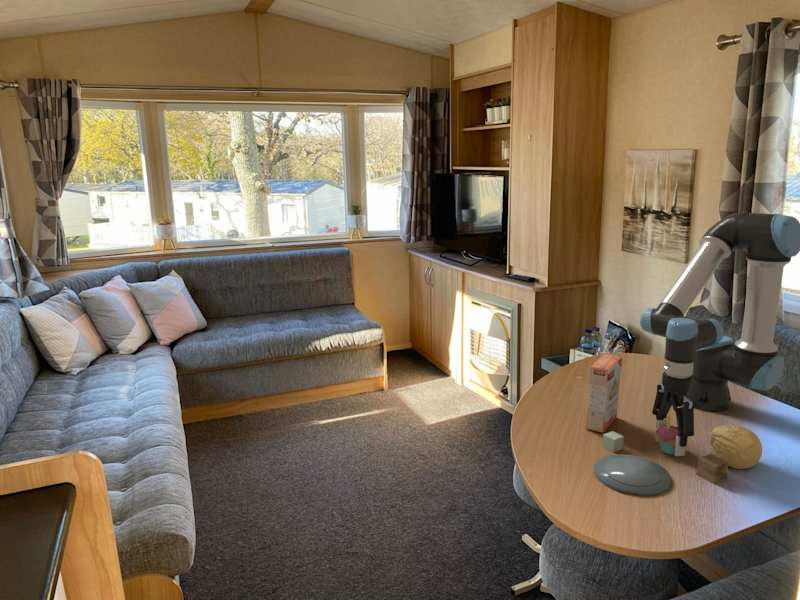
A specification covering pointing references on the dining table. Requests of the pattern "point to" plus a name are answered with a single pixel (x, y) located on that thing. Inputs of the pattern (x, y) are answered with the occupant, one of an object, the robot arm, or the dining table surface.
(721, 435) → the sculpture
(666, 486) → the plate
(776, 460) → the dining table surface
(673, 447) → the cupcake
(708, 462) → the walnut block
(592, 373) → the cracker box
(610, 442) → the sage block
